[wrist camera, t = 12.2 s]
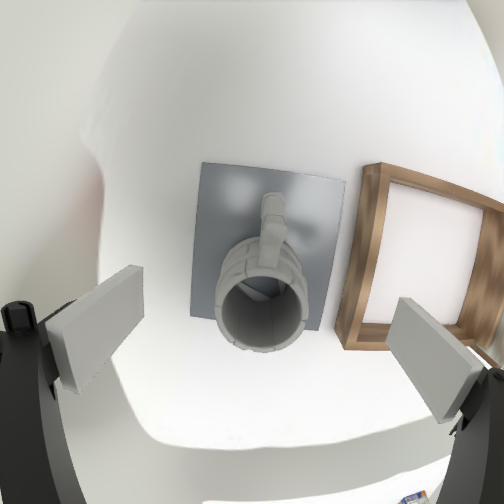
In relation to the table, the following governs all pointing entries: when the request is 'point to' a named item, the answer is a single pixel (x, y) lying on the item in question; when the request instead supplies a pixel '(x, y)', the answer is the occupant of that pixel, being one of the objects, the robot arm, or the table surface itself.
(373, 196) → the box
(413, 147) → the table surface
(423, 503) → the beverage box
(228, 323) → the mug
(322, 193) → the slate mat
